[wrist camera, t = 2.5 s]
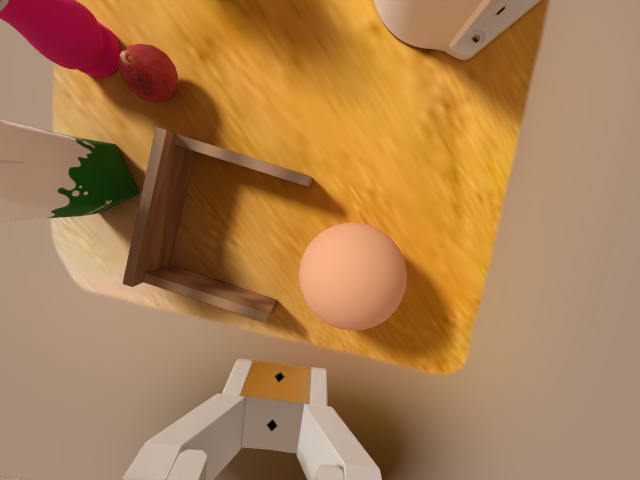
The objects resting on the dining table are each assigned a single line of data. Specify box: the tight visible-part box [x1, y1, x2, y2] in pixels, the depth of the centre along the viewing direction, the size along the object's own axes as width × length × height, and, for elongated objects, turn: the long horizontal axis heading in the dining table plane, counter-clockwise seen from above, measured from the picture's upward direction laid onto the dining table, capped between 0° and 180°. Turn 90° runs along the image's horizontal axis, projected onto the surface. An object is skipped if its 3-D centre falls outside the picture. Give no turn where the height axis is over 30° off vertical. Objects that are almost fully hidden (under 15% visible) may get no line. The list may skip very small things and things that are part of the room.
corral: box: [123, 127, 314, 323], centre depth 36 cm, size 17×18×7 cm
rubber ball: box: [299, 223, 407, 331], centre depth 33 cm, size 12×12×12 cm
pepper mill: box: [0, 0, 121, 78], centre depth 28 cm, size 7×7×20 cm
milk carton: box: [0, 120, 139, 221], centre depth 30 cm, size 9×9×20 cm
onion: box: [119, 44, 178, 103], centre depth 34 cm, size 6×6×8 cm
